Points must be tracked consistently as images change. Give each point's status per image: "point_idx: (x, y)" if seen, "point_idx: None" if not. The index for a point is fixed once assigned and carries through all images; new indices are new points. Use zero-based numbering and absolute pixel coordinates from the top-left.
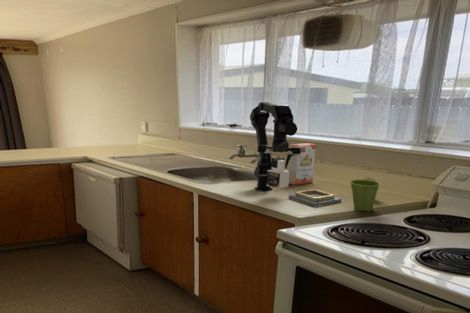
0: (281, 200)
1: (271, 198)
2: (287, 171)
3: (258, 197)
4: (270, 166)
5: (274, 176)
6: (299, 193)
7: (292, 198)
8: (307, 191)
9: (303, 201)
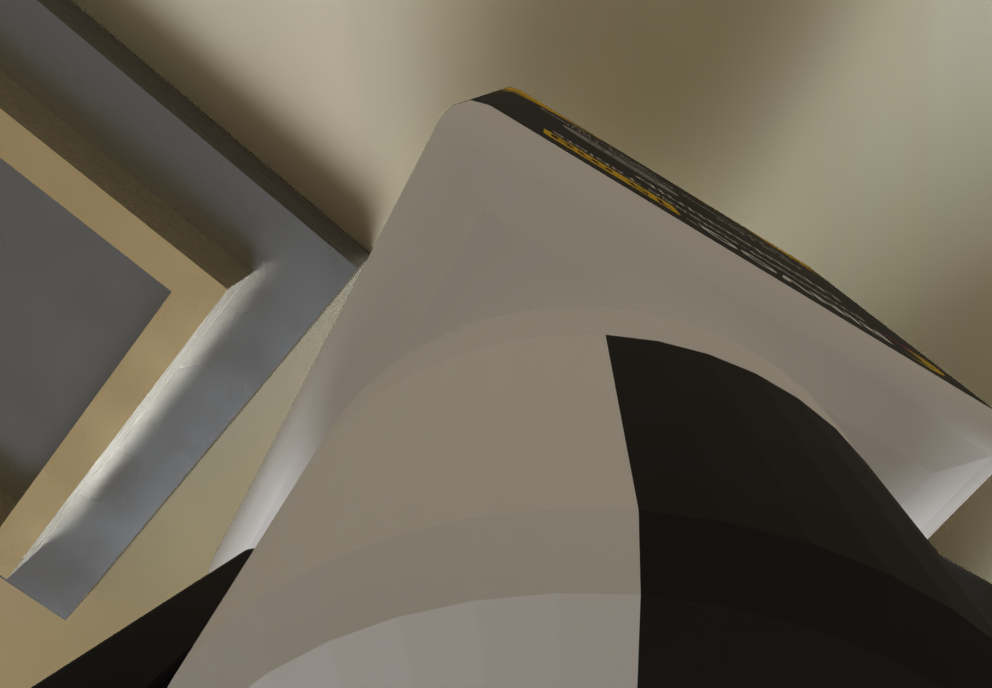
0: (463, 69)
1: (645, 148)
2: (239, 520)
3: (881, 136)
4: (982, 585)
5: (668, 201)
6: (143, 221)
7: (297, 200)
8: (72, 433)
9: (73, 16)
